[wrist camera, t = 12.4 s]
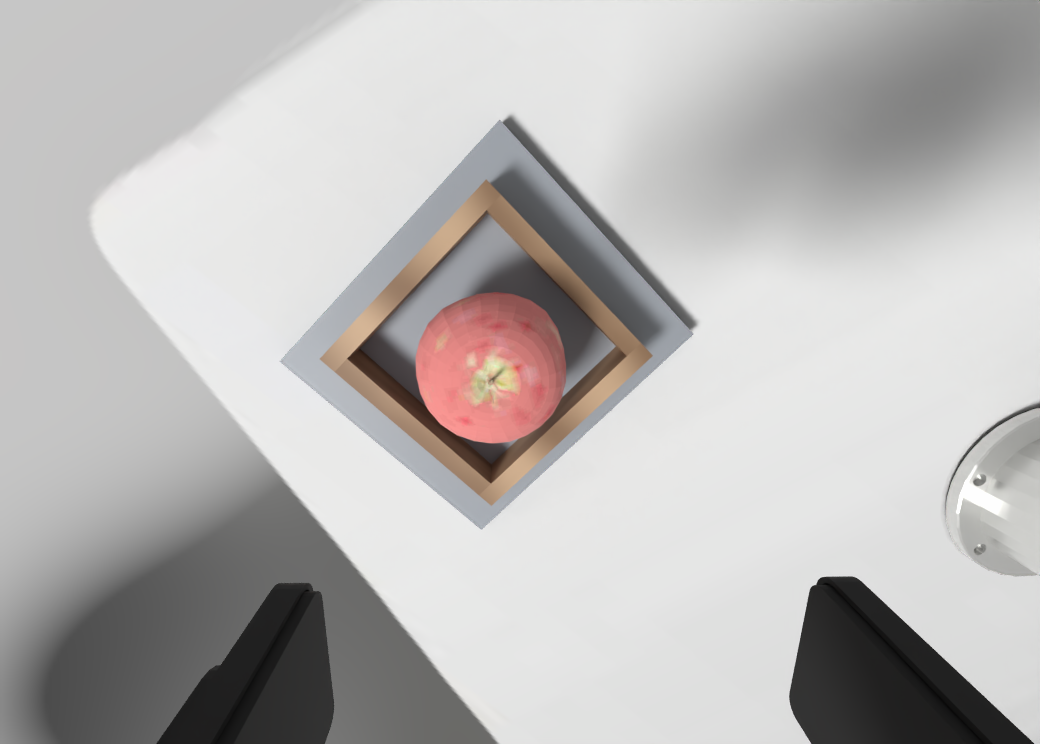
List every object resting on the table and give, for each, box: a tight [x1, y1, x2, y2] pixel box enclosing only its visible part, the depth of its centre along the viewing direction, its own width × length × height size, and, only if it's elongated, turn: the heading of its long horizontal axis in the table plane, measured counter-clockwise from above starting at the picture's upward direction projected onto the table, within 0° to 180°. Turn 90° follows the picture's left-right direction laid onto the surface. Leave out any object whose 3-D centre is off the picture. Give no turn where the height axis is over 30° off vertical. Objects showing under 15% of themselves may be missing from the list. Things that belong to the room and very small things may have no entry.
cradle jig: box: [280, 120, 693, 530], centre depth 27 cm, size 18×16×4 cm
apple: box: [416, 292, 566, 443], centre depth 24 cm, size 7×7×8 cm
